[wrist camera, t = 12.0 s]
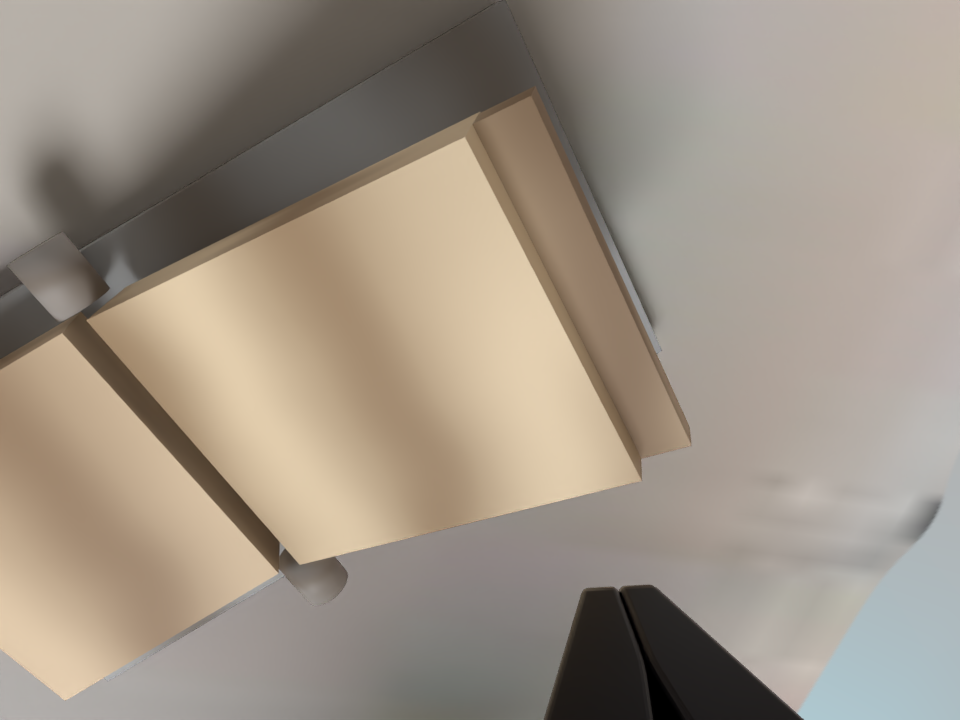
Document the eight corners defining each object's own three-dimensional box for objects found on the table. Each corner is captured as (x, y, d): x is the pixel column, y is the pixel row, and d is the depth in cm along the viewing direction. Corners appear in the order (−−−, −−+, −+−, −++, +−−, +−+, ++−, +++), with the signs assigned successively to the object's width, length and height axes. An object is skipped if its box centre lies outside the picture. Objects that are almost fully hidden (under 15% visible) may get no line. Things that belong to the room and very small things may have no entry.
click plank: (319, 522, 22) (299, 565, 20) (125, 286, 18) (85, 320, 16) (688, 422, 17) (693, 467, 16) (536, 83, 13) (526, 107, 12)
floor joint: (126, 673, 23) (108, 735, 21) (-204, 386, 18) (-272, 432, 16) (657, 356, 23) (693, 386, 21) (486, -22, 18) (512, -33, 16)
